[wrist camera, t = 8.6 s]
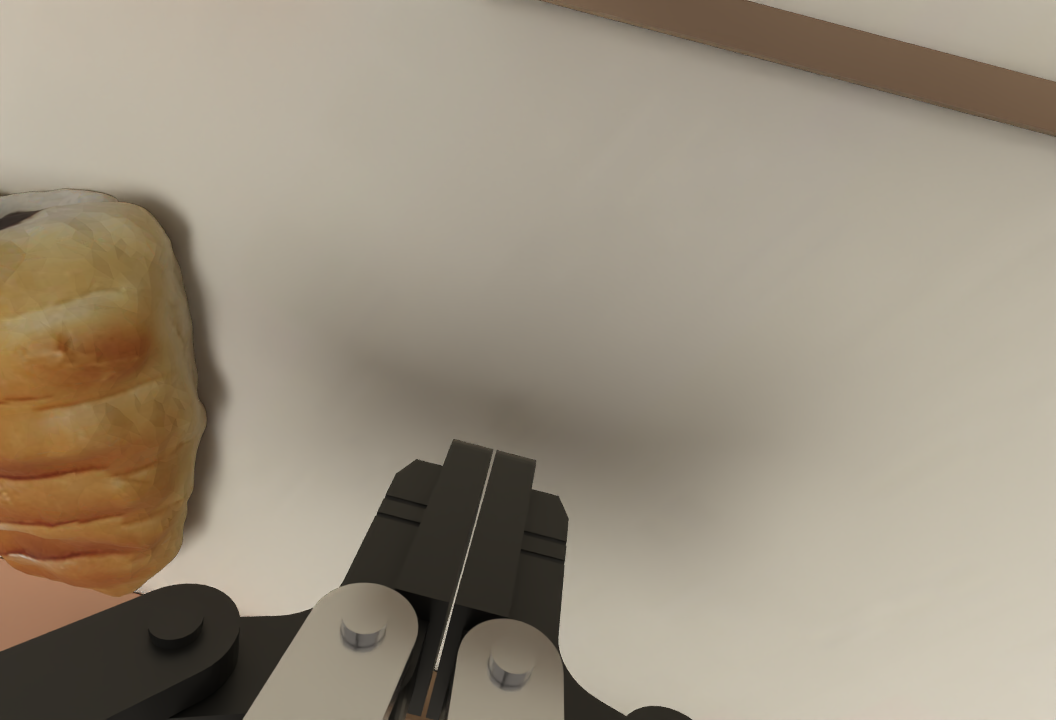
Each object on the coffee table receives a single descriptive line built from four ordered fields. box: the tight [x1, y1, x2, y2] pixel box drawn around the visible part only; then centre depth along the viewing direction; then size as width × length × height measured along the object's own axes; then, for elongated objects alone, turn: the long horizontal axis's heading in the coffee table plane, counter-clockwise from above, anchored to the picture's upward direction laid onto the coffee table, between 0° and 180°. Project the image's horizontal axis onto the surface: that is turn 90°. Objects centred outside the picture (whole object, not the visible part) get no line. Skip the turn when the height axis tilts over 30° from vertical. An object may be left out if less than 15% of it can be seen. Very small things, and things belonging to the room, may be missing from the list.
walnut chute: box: [405, 0, 1056, 720], centre depth 14 cm, size 17×14×2 cm
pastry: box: [0, 189, 207, 597], centre depth 14 cm, size 9×7×4 cm
